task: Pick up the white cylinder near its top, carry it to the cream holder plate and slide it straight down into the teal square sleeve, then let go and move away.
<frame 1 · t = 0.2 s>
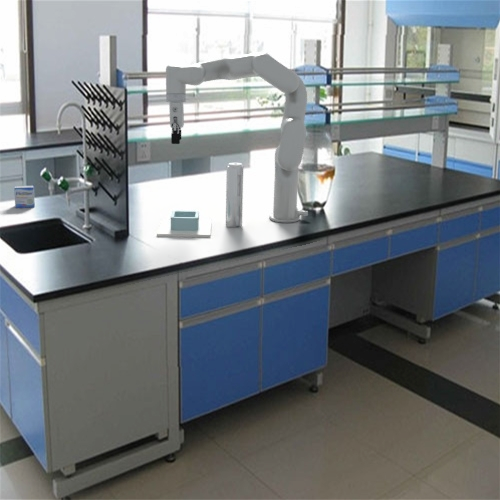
hand: (176, 141, 286), 31 cm above the worktop, tool pointing down, fingers open, 9 cm apart
medicine box: (25, 206, 306), on the worktop
filter holder: (185, 229, 280), on the worktop
white cylinder: (233, 226, 286), on the worktop
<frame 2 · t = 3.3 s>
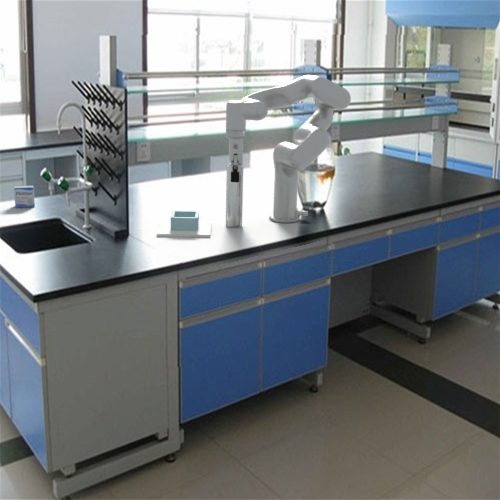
hand: (234, 179, 280), 19 cm above the worktop, tool pointing down, fingers closed on white cylinder, 6 cm apart
white cylinder: (233, 226, 286), on the worktop, touching gripper
everything else where it was.
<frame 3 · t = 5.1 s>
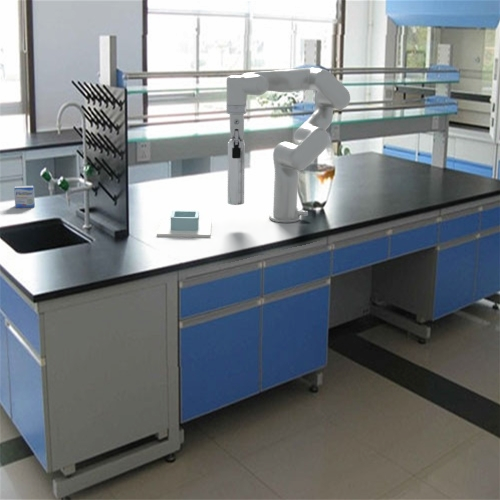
hand: (236, 155, 278), 28 cm above the worktop, tool pointing down, fingers closed on white cylinder, 6 cm apart
white cylinder: (235, 203, 284), point 9 cm above the worktop, touching gripper
everything else where it was.
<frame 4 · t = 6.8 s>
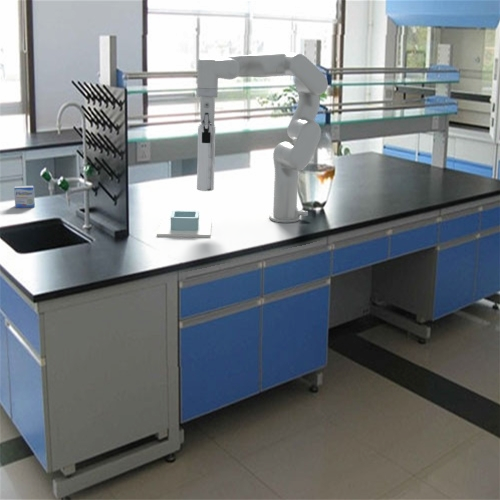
hand: (206, 140, 272), 34 cm above the worktop, tool pointing down, fingers closed on white cylinder, 6 cm apart
white cylinder: (205, 189, 278), point 15 cm above the worktop, touching gripper
everything else where it was.
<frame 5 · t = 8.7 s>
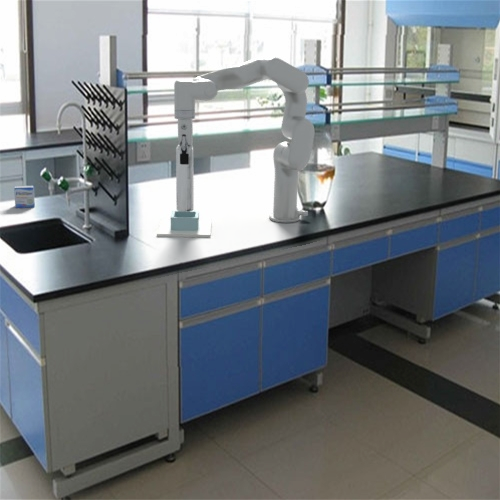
hand: (184, 161, 271), 26 cm above the worktop, tool pointing down, fingers closed on white cylinder, 6 cm apart
white cylinder: (185, 210, 277), point 8 cm above the worktop, touching gripper
everything else where it was.
when the fingers open (21 cm above the worktop, at t = 10.3 s): white cylinder drops 1 cm, resting on filter holder.
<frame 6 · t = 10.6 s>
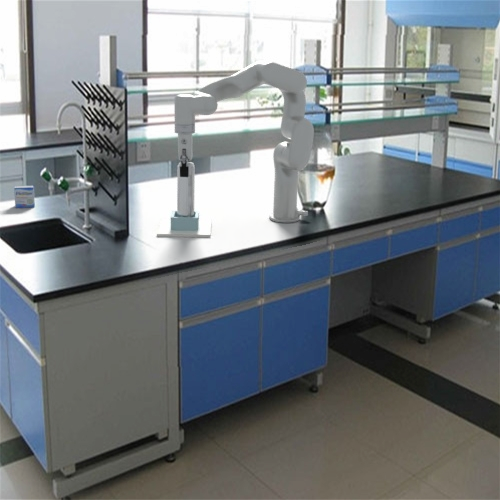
hand: (184, 174, 273), 22 cm above the worktop, tool pointing down, fingers open, 9 cm apart
white cylinder: (185, 227, 280), point 1 cm above the worktop, touching filter holder
everything else where it was.
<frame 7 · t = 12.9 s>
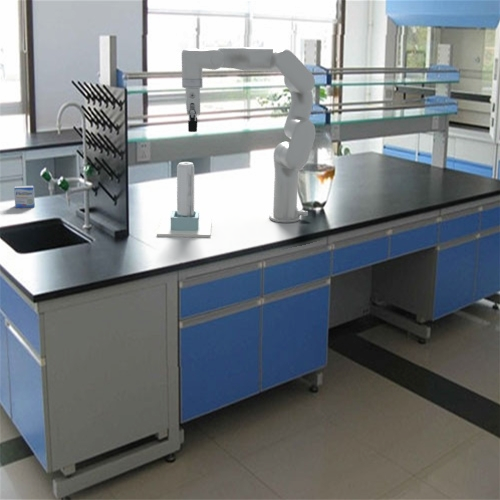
hand: (192, 129, 273), 38 cm above the worktop, tool pointing down, fingers open, 9 cm apart
nothing on the worktop moved.
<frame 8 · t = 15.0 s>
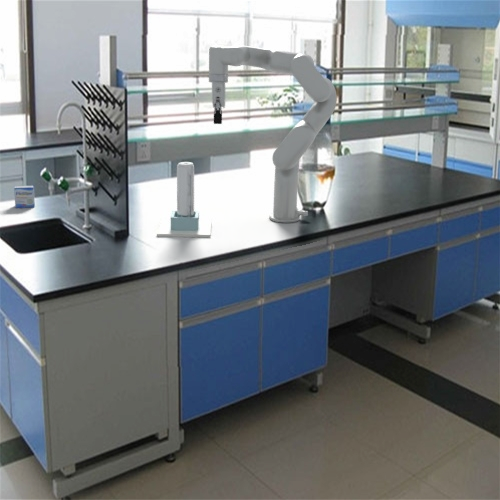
hand: (217, 121, 290), 38 cm above the worktop, tool pointing down, fingers open, 9 cm apart
nothing on the worktop moved.
at the end: white cylinder 0.4 cm off-centre on the filter holder, point 0.8 cm above the filter holder's base; white cylinder tilted 0°; the gripper is holding nothing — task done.
